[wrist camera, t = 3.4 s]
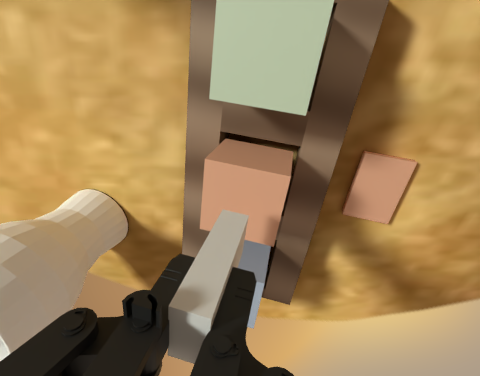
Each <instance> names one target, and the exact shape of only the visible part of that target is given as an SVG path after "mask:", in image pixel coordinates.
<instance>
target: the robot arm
mask: <svg viewBox="0 0 480 376" xmlns="http://www.w3.org/2000/svg"><path fill="white" fill-rule="evenodd" d="M248 218H249V215H245V214H240V213H236V212H232V211H228V210H222V212H221V213H220V215H219V217H218V219H217V221H216V222H215V224H214V226H213V228H212V229H211V231H210V233H209V235H208V237H207V238H206V240H205V242H204V244H203V246H202V247H201V249H200V251H199V253H198V254H197V256H196V258H195V257H191V256H188V255H184V254H179V255H178V256H176V257H175V258H173V259H172V260H171V261H170V263H169V264H168V266H167V267H166V269H165V270H164V271H163V273H162V274H161V277H159V279H158V280H157V282H156V283H155V285H154V286H153V288H152V289H151V291H150V290H140V291H136V292H134V293H132V294H130V295H128V296H127V297H126V298H125V299H124V300H123V301H122V302H123V312H124V316H120V317H99V318H97V315H96V313H95V312H94V311H93V310H91V309H88V308H76V309H74V310H70V311H68V312H66V313H65V314H63V315H61V316H60V317H58V318H57V319H56V320H54V321H53V322H52V323H50V324H49V325H48V326H46V327H45V328H44V329H43V330H41V331H40V332H39V333H37V334H36V335H35V336H33V337H32V338H31V339H29V340H28V341H27V342H25V343H24V344H23V345H21V346H20V347H19V348H17V349H16V350H15V351H13V352H12V353H11V354H9V355H8V356H7V357H5V358H4V359H3V360H1V361H0V376H158V375H159V373H160V371H161V367H162V359H163V357H164V355H165V353H166V351H167V349H168V355H169V356H172V357H175V358H178V359H181V360H184V361H187V362H191V363H193V364H194V367H193V370H192V372H191V375H190V376H294V375H293V374H292V373H290V372H289V371H288V370H286V369H284V368H280V367H271V368H267V367H266V366H264V365H263V364H261V363H260V362H259V361H257V360H256V359H255V358H254V357H253V356H252V354H251V353H250V352H249V350H248V347H247V345H246V339H245V338H246V337H245V336H246V330H247V325H248V321H249V316H250V311H251V306H252V302H253V297H254V292H255V288H256V283H257V281H256V278H255V274H254V272H251V271H247V270H243V269H239V268H238V265H239V262H240V259H241V256H242V252H243V246H244V240H245V235H246V229H247V223H248Z"/></svg>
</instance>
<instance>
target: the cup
mask: <svg viewBox="0 0 480 376" xmlns="http://www.w3.org/2000/svg"><path fill="white" fill-rule="evenodd" d="M127 232H128V223H127V219H126V216H125V214H124V212H123V210H122V209H121V208H120V206H119V205H118V204H117V203H116V202H115V201H114V200H113V199H112V198H110V197H109V196H107V195H106V194H104V193H102V192H99V191H96V190H90V189H85V190H81V191H79V192H77V193H76V194H74V195H73V196H72V197H70V198H69V199H68V200H66V201H65V202H64V203H63V204H62V205H61V206H60V207H58V208H57V209H56V210H55V211H53V212H50V213H48V214H46V215H43V216H41V217H39V218H36V219H32V220H22V221H12V222H7V223H2V224H0V361H1V360H3V359H4V358H5V357H7V356H8V355H9V354H11V353H12V352H13V351H15V350H16V349H17V348H19V347H20V346H21V345H23V344H24V343H25V342H27V341H28V340H29V339H31V338H32V337H33V336H35V335H36V334H37V333H39V332H40V331H41V330H43V329H44V328H45V327H46V326H48V325H49V324H50V323H52V322H53V321H54V320H56V319H57V318H58V317H60V316H61V315H63V314H65V313H66V312H68V311H70V310H72V308H73V306H74V304H75V302H76V300H77V298H78V297H79V295H80V293H81V291H82V287H83V284H84V281H85V278H86V275H87V272H88V270H89V269H90V268H91V266H92V265H93V264H94V263H95V261H96V260H97V259H98V258H99V256H101V255H102V254H104V253H105V252H107V251H108V250H110V249H111V248H113V247H114V246H116V245H117V244H118V243H120V242H121V241H122V240H123V239H124V238H125V237H126V234H127Z"/></svg>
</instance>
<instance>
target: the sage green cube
mask: <svg viewBox="0 0 480 376" xmlns="http://www.w3.org/2000/svg"><path fill="white" fill-rule="evenodd" d="M333 3H334V0H216V14H215V27H214V41H213V55H212V68H211V82H210V95H209V99H212V100H218V101H224V102H230V103H235V104H241V105H247V106H252V107H258V108H264V109H270V110H275V111H281V112H287V113H293V114H298V115H304V116H306V113H307V109H308V105H309V101H310V97H311V93H312V89H313V85H314V81H315V77H316V73H317V68H318V64H319V60H320V56H321V52H322V48H323V44H324V40H325V36H326V32H327V28H328V24H329V20H330V16H331V12H332V8H333Z"/></svg>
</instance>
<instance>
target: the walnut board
mask: <svg viewBox="0 0 480 376" xmlns="http://www.w3.org/2000/svg"><path fill="white" fill-rule="evenodd" d="M388 2H389V0H334V3H333V8H332V14H331V18H330V22H329V26H328V31H327V35H326V39H325V43H324V47H323V51H322V55H321V59H320V63H319V67H318V71H317V75H316V79H315V83H314V87H313V91H312V95H311V99H310V103H309V106H308V109H307V113H306V116H304V115H298V114H293V113H287V112H281V111H275V110H270V109H264V108H258V107H252V106H247V105H241V104H235V103H230V102H224V101H218V100H212V99H209V95H210V82H211V68H212V55H213V41H214V27H215V14H216V0H191V24H190V52H189V79H188V106H187V133H186V161H185V188H184V215H183V243H182V254H184V255H188V256H191V257H195V258H196V256H197V254H198V253H199V251H200V249H201V247H202V246H203V244H204V242H205V240H206V238H207V237H208V235H209V233H210V231H207V230H203V229H200V218H201V204H202V191H203V177H204V164H205V158H206V157H207V156H208V155H209V154H210V153H211V152H212V151H213V150H214V149H215V148H216V147H217V146H218V145H219V144H220V143H222V142H223V141H224V140H225V139H228V133H233V134H238V135H243V136H248V137H254V138H259V139H264V140H269V141H275V142H280V143H285V144H290V145H296V146H299V148H298V152H297V156H296V160H295V164H294V168H293V172H292V176H291V180H290V184H289V188H288V192H287V196H286V200H285V203H284V207H283V211H282V215H281V219H280V223H279V227H278V231H277V235H276V239H275V240H276V241H275V245H274V249H273V253H272V257H271V261H270V265H269V269H268V268H267V272H266V278H265V284H264V288H263V292H262V296H261V297H263V298H266V299H270V300H274V301H277V302H281V303H285V304H289V305H290V302H291V299H292V296H293V293H294V290H295V287H296V284H297V281H298V278H299V275H300V271H301V268H302V265H303V262H304V259H305V256H306V253H307V250H308V247H309V244H310V241H311V238H312V235H313V232H314V229H315V226H316V222H317V219H318V216H319V213H320V210H321V207H322V204H323V201H324V198H325V195H326V192H327V189H328V186H329V183H330V180H331V177H332V173H333V170H334V167H335V164H336V161H337V158H338V155H339V152H340V149H341V146H342V143H343V140H344V137H345V134H346V131H347V127H348V124H349V121H350V118H351V115H352V112H353V109H354V106H355V103H356V100H357V97H358V94H359V91H360V88H361V85H362V82H363V78H364V75H365V72H366V69H367V66H368V63H369V60H370V57H371V54H372V51H373V48H374V45H375V42H376V39H377V36H378V33H379V29H380V26H381V23H382V20H383V17H384V14H385V11H386V8H387V5H388Z"/></svg>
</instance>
